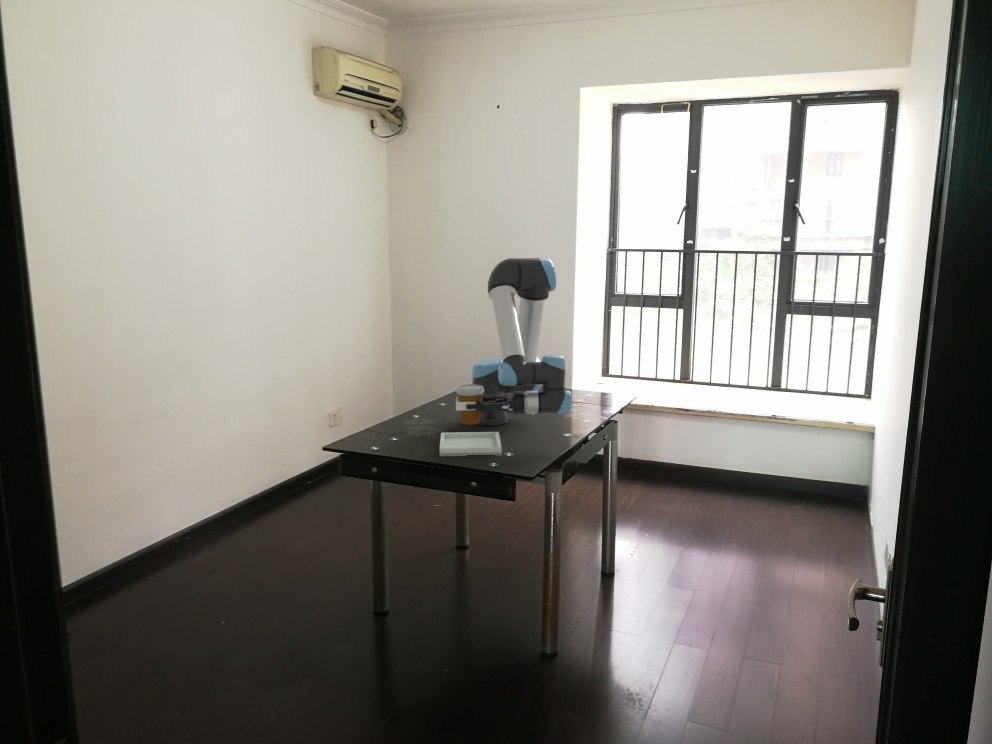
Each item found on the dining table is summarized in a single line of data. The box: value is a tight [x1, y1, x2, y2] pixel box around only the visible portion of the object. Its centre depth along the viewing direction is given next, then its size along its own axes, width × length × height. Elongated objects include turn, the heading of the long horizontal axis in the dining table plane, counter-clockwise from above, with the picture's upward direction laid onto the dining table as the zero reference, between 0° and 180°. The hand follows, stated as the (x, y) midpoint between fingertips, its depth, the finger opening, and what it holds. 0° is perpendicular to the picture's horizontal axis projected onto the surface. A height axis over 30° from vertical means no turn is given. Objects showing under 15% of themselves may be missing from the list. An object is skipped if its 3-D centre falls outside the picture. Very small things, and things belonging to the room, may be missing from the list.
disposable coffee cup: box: [455, 384, 485, 425], centre depth 249 cm, size 10×10×12 cm
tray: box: [439, 431, 503, 457], centre depth 252 cm, size 20×20×2 cm
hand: (456, 403), depth 248 cm, fingers closed on disposable coffee cup, 8 cm apart
